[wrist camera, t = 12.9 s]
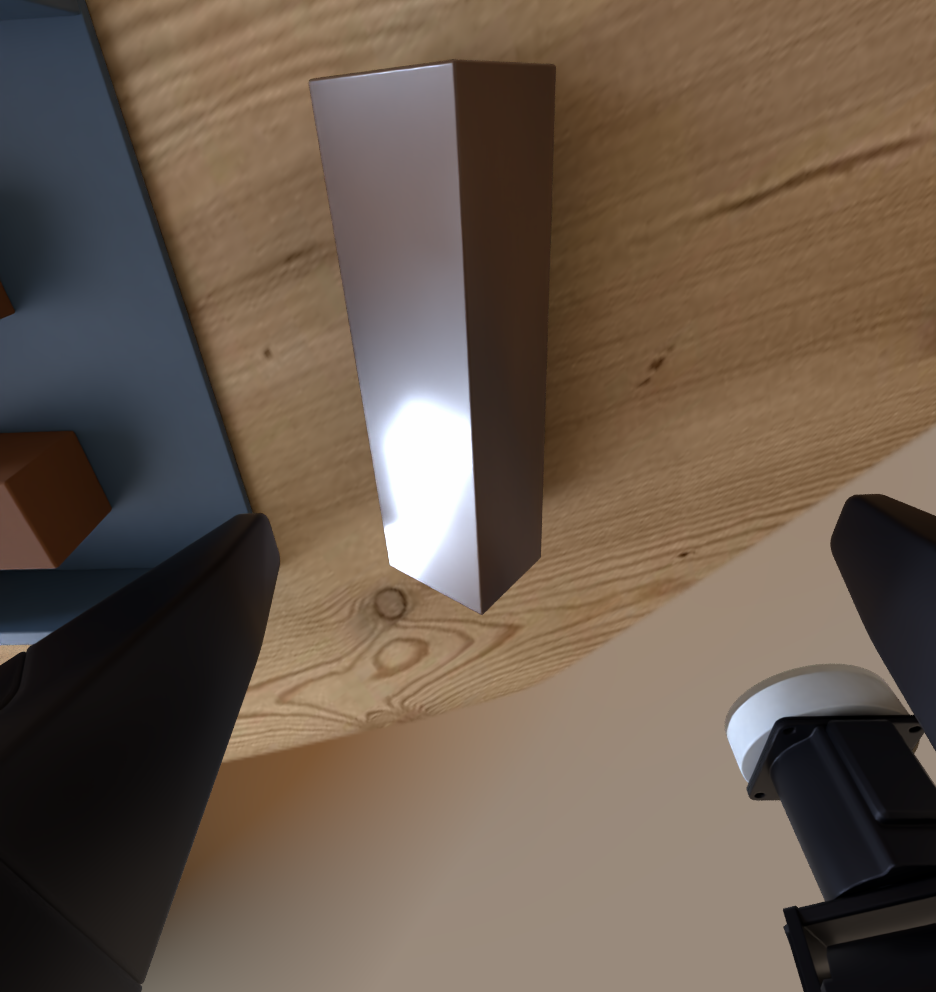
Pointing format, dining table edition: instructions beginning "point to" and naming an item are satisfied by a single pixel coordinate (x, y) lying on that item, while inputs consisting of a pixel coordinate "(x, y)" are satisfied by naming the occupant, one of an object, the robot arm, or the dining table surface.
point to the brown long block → (448, 304)
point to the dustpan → (95, 323)
